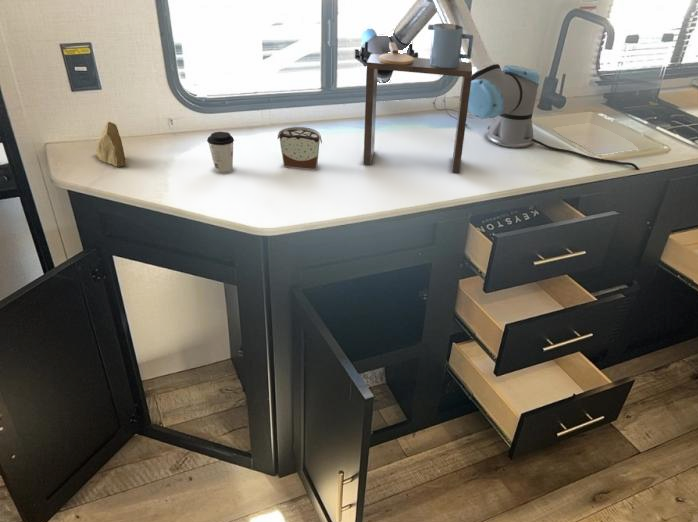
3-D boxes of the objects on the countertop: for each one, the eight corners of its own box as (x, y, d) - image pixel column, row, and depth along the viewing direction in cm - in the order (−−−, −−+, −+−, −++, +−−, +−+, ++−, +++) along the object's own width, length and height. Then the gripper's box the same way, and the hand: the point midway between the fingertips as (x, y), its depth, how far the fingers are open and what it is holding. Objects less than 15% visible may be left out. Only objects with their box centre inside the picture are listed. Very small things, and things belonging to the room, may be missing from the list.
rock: (134, 159, 162) (135, 141, 169) (108, 136, 156) (110, 118, 163) (105, 182, 164) (107, 163, 171) (78, 160, 158) (81, 142, 165)
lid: (407, 48, 175) (408, 42, 174) (415, 65, 160) (415, 59, 159) (376, 47, 174) (376, 41, 173) (380, 63, 158) (381, 57, 158)
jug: (469, 63, 166) (474, 25, 160) (469, 70, 159) (474, 31, 154) (425, 59, 166) (429, 21, 160) (424, 66, 159) (427, 27, 154)
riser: (459, 160, 183) (471, 62, 166) (459, 173, 174) (472, 71, 158) (367, 151, 183) (371, 53, 167) (363, 164, 175) (366, 62, 159)
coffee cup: (214, 176, 161) (209, 140, 156) (208, 167, 166) (203, 131, 161) (239, 173, 164) (236, 137, 159) (233, 163, 169) (229, 129, 164)
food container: (326, 162, 174) (325, 128, 169) (321, 170, 169) (321, 136, 164) (284, 158, 175) (282, 124, 169) (278, 166, 170) (276, 131, 164)
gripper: (419, 80, 205) (429, 62, 184) (345, 77, 202) (347, 58, 181) (419, 57, 205) (429, 36, 184) (345, 54, 202) (347, 32, 181)
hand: (388, 47), depth 183 cm, fingers open, 13 cm apart
